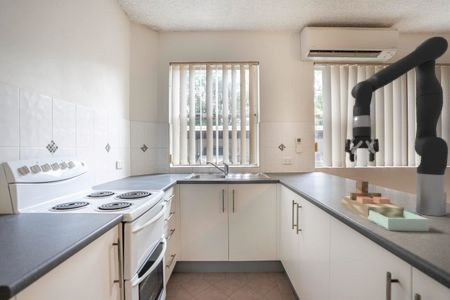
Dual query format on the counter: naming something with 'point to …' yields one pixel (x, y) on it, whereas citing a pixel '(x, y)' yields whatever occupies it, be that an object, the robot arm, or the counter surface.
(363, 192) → the wooden t-shaped block
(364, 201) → the tile
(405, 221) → the box
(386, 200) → the tile
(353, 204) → the wooden board
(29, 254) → the counter surface
